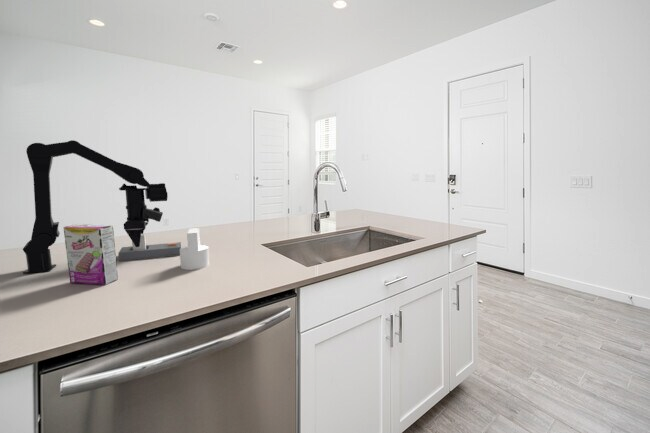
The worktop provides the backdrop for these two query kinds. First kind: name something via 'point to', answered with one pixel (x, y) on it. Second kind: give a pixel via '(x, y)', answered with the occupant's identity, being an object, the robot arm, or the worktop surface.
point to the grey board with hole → (150, 251)
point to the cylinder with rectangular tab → (194, 252)
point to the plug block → (142, 243)
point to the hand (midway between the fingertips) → (139, 244)
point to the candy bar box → (91, 254)
